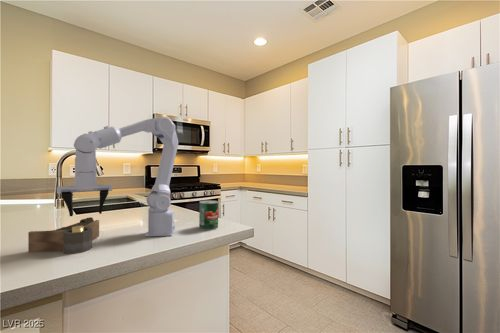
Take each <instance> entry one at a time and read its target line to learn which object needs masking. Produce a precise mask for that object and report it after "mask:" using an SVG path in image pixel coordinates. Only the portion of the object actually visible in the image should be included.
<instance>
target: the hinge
mask: <svg viewBox="0 0 500 333" xmlns="http://www.w3.org/2000/svg"><path fill="white" fill-rule="evenodd" d="M54 230H55V231H51V230H34V231H33V230H31V231H28V233H27V235H28V236H27V237H28V244H27V246H28V251H27V252H28V253H38V252H62V251H63V254H69V255H70V254H80V253H85V252H87V251H90V250H91V249H92V248H93V241H95V240H96V239H97V238H99V237H100V219H95V220H94V221H93V222H91V223H89V224H88V225H86V226H84V231H82V232H74V233H72V229H68V230H56V229H54Z"/></svg>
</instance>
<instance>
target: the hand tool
mask: <svg viewBox="0 0 500 333" xmlns="http://www.w3.org/2000/svg"><path fill="white" fill-rule="evenodd" d="M93 221H95V220H94V218H93V217H87V218H82V219H80V220H79V222H76V223H73V224H70V225H67V226H62V227H61V228H56V229H52V230H50V231H55V230H68V229H72V227H75V226H86V225H88V224H89V223H91V222H93Z"/></svg>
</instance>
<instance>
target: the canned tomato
mask: <svg viewBox="0 0 500 333" xmlns="http://www.w3.org/2000/svg"><path fill="white" fill-rule="evenodd" d="M198 207H199V216H198V217H199V228H198V229H199V230H202V231H213V230H216V229H217V230H218V228H219V201H218V200H214V199H213V200H211V199H209V200H207V199H206V200H200V201H199V206H198Z"/></svg>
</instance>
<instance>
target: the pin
mask: <svg viewBox="0 0 500 333" xmlns="http://www.w3.org/2000/svg"><path fill="white" fill-rule="evenodd" d="M82 231H84V226H75V227H72V233H74V232H82Z"/></svg>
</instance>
